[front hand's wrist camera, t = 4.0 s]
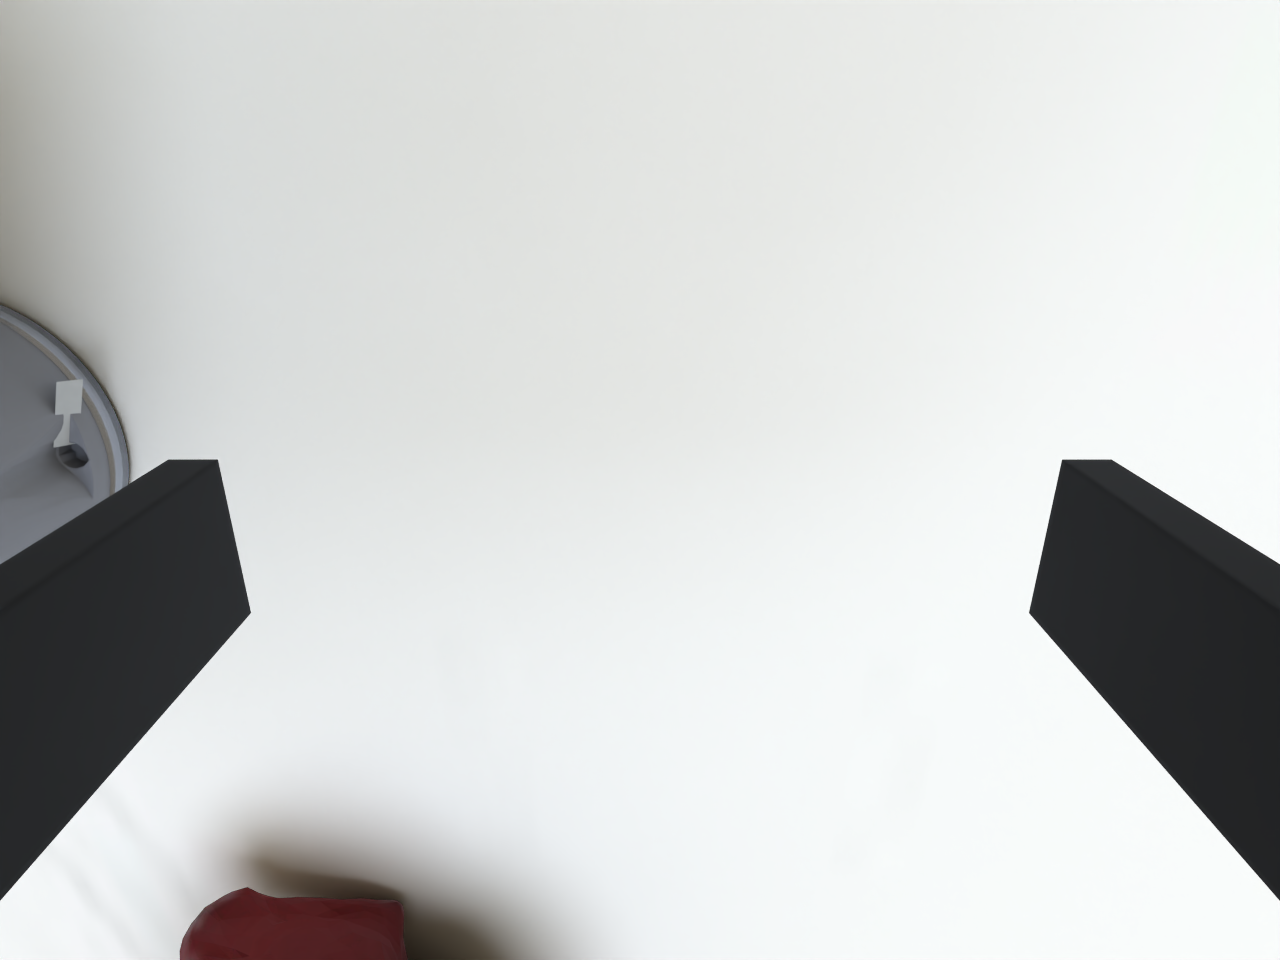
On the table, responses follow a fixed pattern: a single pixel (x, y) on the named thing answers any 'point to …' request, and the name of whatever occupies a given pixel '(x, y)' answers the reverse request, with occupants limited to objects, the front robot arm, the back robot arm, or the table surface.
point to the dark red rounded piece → (295, 929)
